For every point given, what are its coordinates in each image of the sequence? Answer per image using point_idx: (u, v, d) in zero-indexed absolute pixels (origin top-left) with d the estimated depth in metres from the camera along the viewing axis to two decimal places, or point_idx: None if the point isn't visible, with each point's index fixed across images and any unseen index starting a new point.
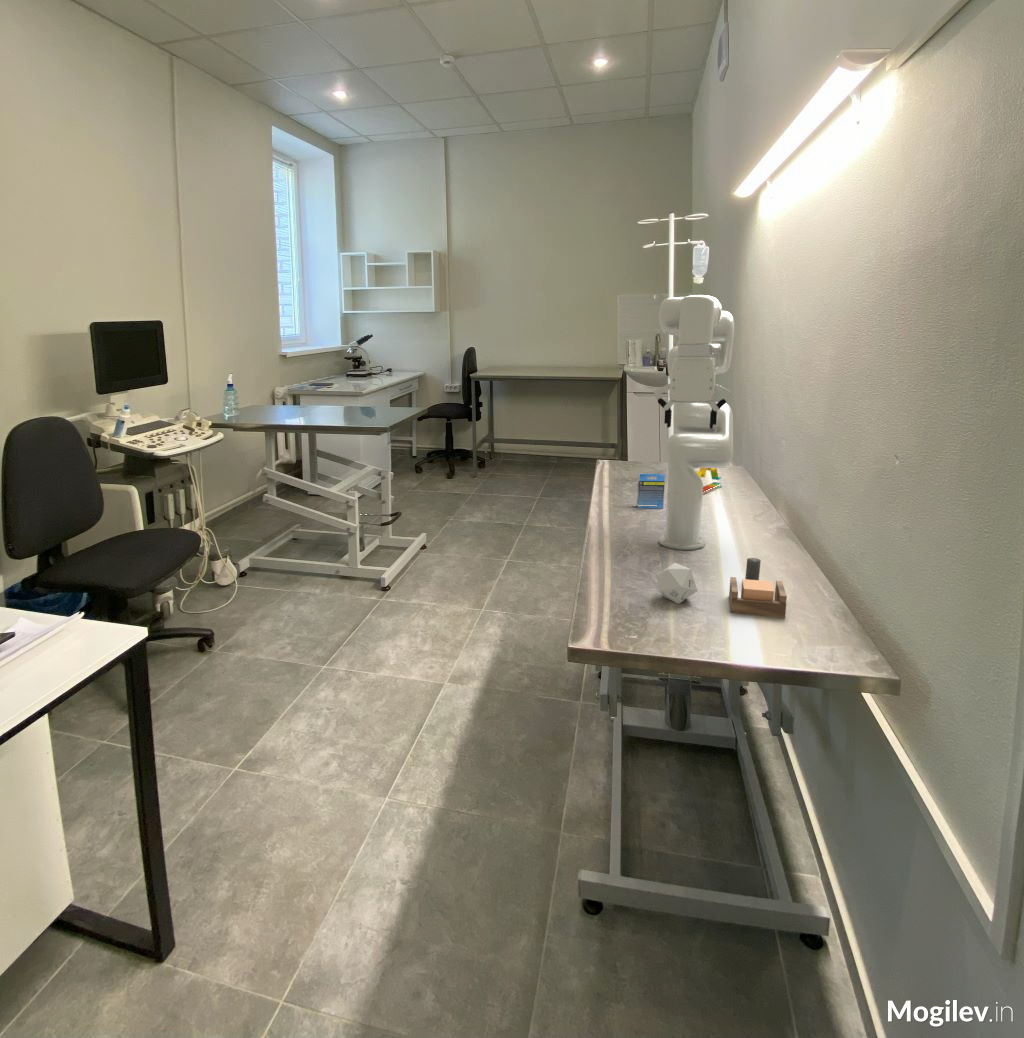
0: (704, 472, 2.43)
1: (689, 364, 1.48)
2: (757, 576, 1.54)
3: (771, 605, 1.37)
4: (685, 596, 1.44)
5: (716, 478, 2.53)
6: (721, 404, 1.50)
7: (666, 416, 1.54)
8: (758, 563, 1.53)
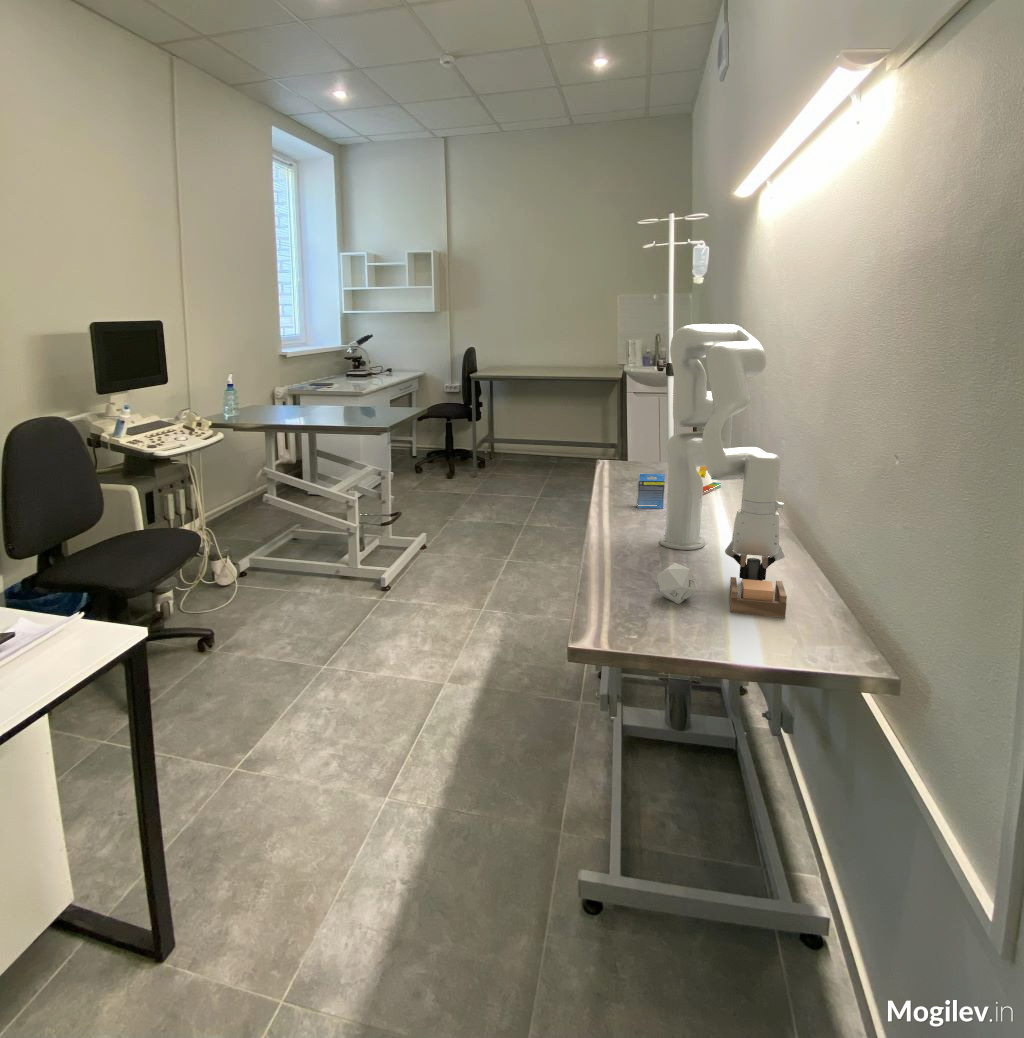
0: (704, 472, 2.43)
1: (755, 520, 1.49)
2: (757, 576, 1.54)
3: (771, 605, 1.37)
4: (685, 596, 1.44)
5: None
6: (771, 562, 1.52)
7: (742, 572, 1.55)
8: (758, 563, 1.53)
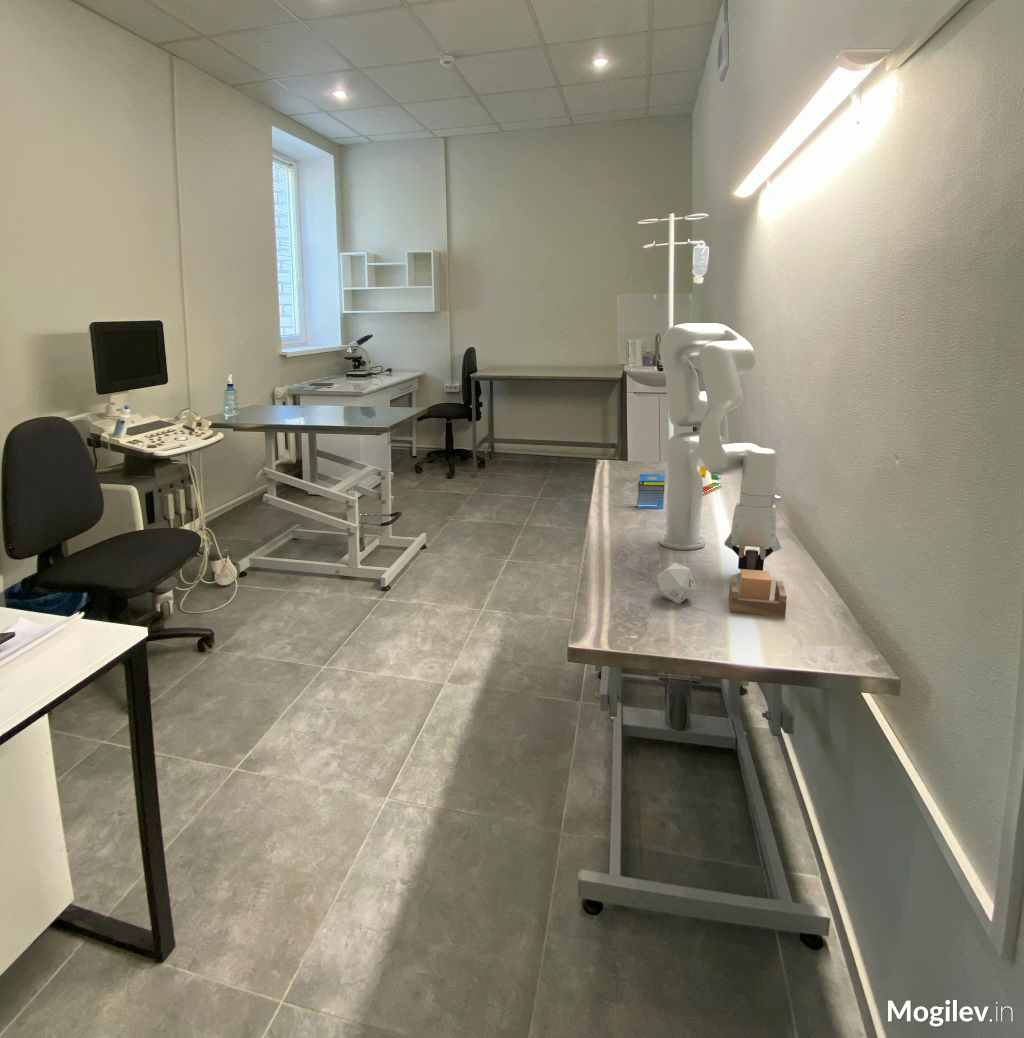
0: (705, 472, 2.42)
1: (752, 512, 1.55)
2: (755, 567, 1.60)
3: (771, 605, 1.37)
4: (685, 596, 1.44)
5: (716, 478, 2.53)
6: (768, 553, 1.58)
7: (740, 562, 1.61)
8: (756, 554, 1.59)
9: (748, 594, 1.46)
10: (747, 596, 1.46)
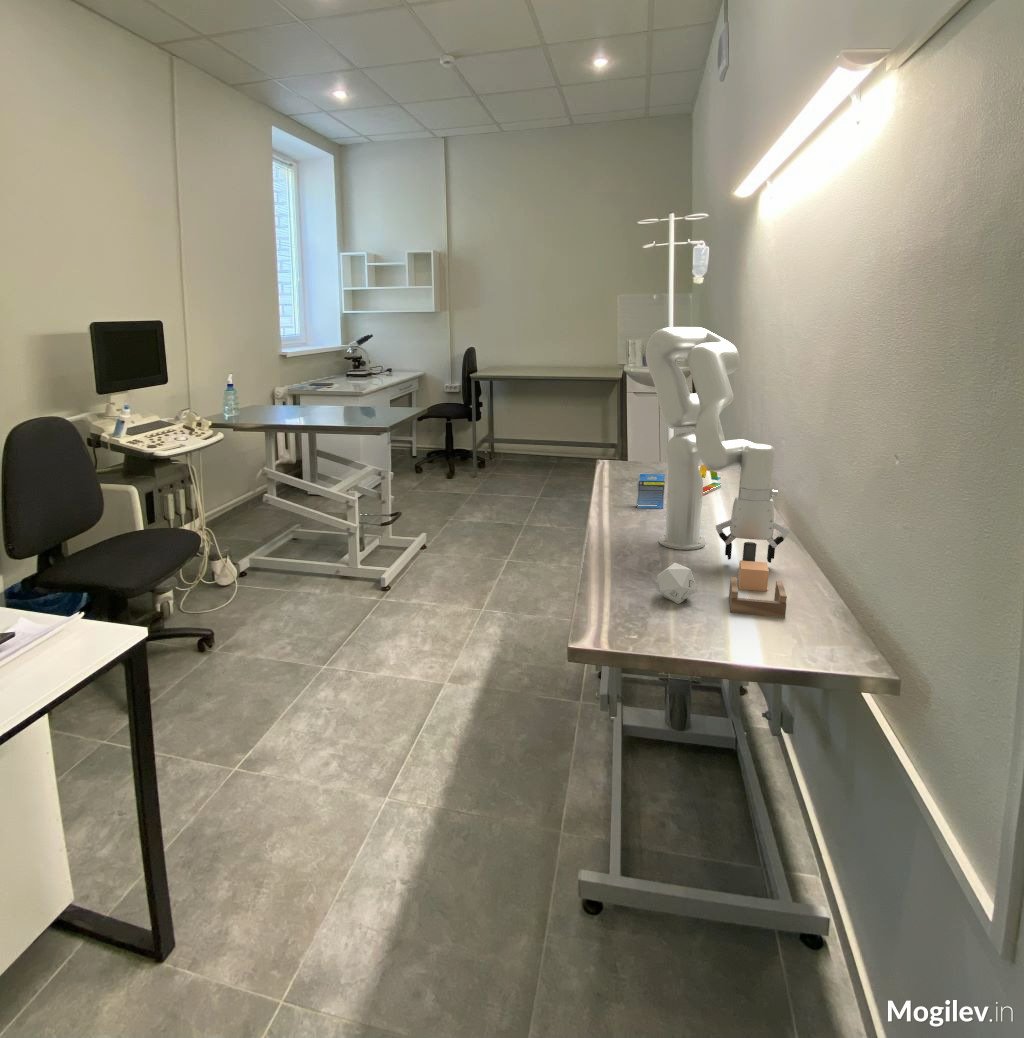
0: (705, 473, 2.42)
1: (751, 506, 1.61)
2: (753, 559, 1.66)
3: (771, 605, 1.37)
4: (685, 596, 1.44)
5: (716, 478, 2.52)
6: (779, 541, 1.63)
7: (727, 549, 1.67)
8: (754, 546, 1.65)
9: (746, 584, 1.52)
10: (745, 586, 1.52)
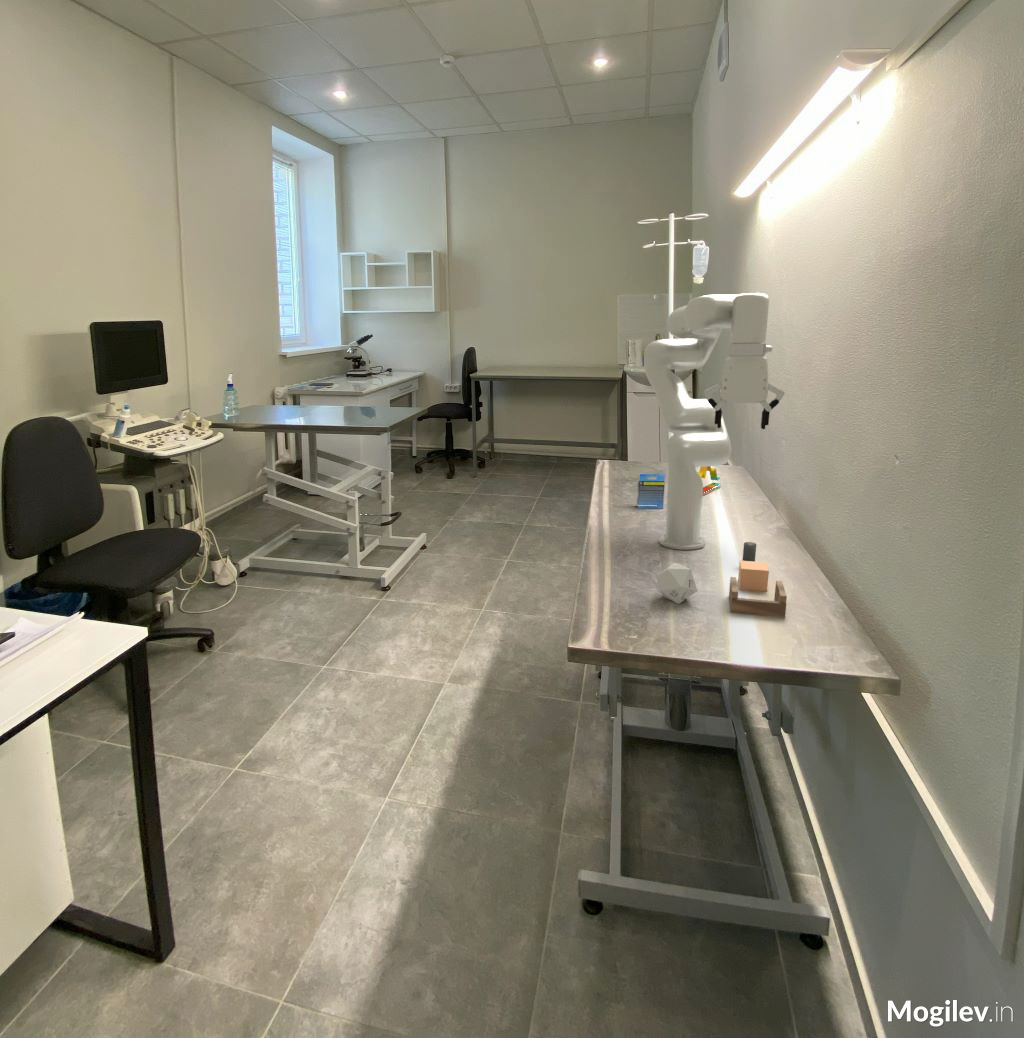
0: (705, 473, 2.42)
1: (743, 363, 1.45)
2: (753, 559, 1.66)
3: (771, 605, 1.37)
4: (685, 596, 1.44)
5: (715, 479, 2.52)
6: (774, 404, 1.47)
7: (716, 416, 1.51)
8: (754, 546, 1.65)
9: (746, 584, 1.52)
10: (745, 586, 1.52)
